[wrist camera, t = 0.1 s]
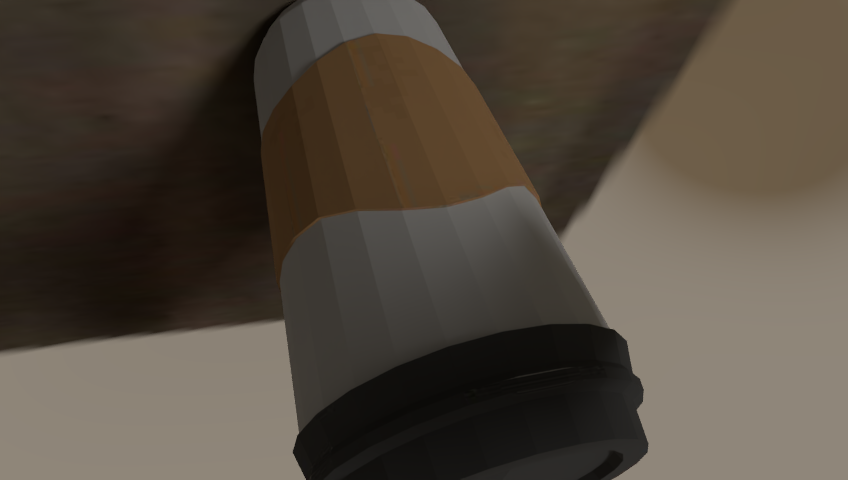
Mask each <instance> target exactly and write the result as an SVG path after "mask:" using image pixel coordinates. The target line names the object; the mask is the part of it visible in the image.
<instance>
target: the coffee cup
mask: <svg viewBox="0 0 848 480" xmlns="http://www.w3.org/2000/svg"><path fill="white" fill-rule="evenodd" d="M254 86H255V94H256V102H257V110H258V117H259V125H260V133H261V141H262V144H261V160H262V168H263V176H264V184H265V192H266V201H267V209H268V217H269V225H270V233H271V241H272V249H273V257H274V265H275V273H276V281H277V284H278V287H279V289H280V292H281V296H282V303H283V311H284V319H285V326H286V334H287V342H288V350H289V358H290V365H291V373H292V381H293V388H294V396H295V404H296V412H297V420H298V427H299V434H298V436H297V439H296V443H295V447H294V450H293V454H294V456H295V458H296V460H297V462H298V464H299V466H300V468H301V470H302V472H303V474H304V476H305V478H306V480H611V479H613V478H615V477H617V476H619V475H620V474H622V473H623V472H625V471H626V470H628V469H629V468H630V467H632V466H633V465H635V464H636V463H637V462H638V461H639V460H640V459H641V458H642V457H643V456H644V455H645V454H646V453H647V451H648V442H647V439H646V436H645V433H644V430H643V427H642V424H641V421H640V419H639V416H638V413H637V408H638V407H639V406H640V404H641V403H642V402H643V391H644V389H643V387H642V384H641V381H640V379H639V378H638V377H637V376H635V375H634V374H633V372H632V367H631V362H630V357H629V352H628V346H627V341H626V340H625V339H624V338H623V337H622V336H620V335H619V334H618V333H617V332H616V331H615V330H613V329H610V328H609V327H608V325H607V323H606V321H605V320H604V318H603V316H602V314H601V313H600V311H599V309H598V307H597V305H596V304H595V302H594V300H593V298H592V297H591V295H590V293H589V291H588V290H587V288H586V286H585V285H584V282H583V281H582V279H581V277H580V275H579V274H578V272H577V270H576V268H575V267H574V265H573V263H572V261H571V259H570V258H569V256H568V254H567V252H566V251H565V249H564V247H563V245H562V243H561V242H560V240H559V238H558V236H557V235H556V233H555V231H554V229H553V228H552V226H551V224H550V222H549V220H548V219H547V217H546V215H545V213H544V212H543V210H542V208H541V203H540V198H539V196H538V194H537V192H536V190H535V189H534V187H533V185H532V183H531V182H530V180H529V178H528V176H527V175H526V173H525V171H524V169H523V168H522V166H521V164H520V162H519V161H518V159H517V157H516V155H515V154H514V152H513V150H512V148H511V147H510V145H509V143H508V141H507V140H506V138H505V136H504V134H503V133H502V131H501V129H500V127H499V126H498V124H497V122H496V120H495V119H494V117H493V115H492V113H491V112H490V110H489V108H488V106H487V105H486V103H485V101H484V99H483V98H482V96H481V94H480V92H479V91H478V89H477V87H476V85H475V84H474V83H473V82H472V80H471V79H470V78H469V76H468V75H467V74H466V73H465V71H464V70H463V68H462V66H461V65H460V63H459V61H458V59H457V58H456V56H455V54H454V52H453V51H452V49H451V47H450V45H449V43H448V42H447V40H446V38H445V36H444V35H443V33H442V31H441V29H440V28H439V26H438V24H437V22H436V21H435V20H434V18H433V17H432V16H431V15H430V13H429V12H428V11H427V10H426V8H425V7H424V6H422V5H421V4H419V3H418V2H416V1H415V0H297V1H296V2H294V3H293V4H292V5H290V6H289V7H287V8H286V9H285V10H283V12H282V13H281V14H280V15H279V17H278V18H277V19H276V20H275V21H274V23H273V24H272V25H271V26H270V28H269V30H268V32H267V35H266V36H265V38H264V39H263V41H262V44H261V46H260V49H259V51H258V53H257V56H256V58H255V67H254Z"/></svg>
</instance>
